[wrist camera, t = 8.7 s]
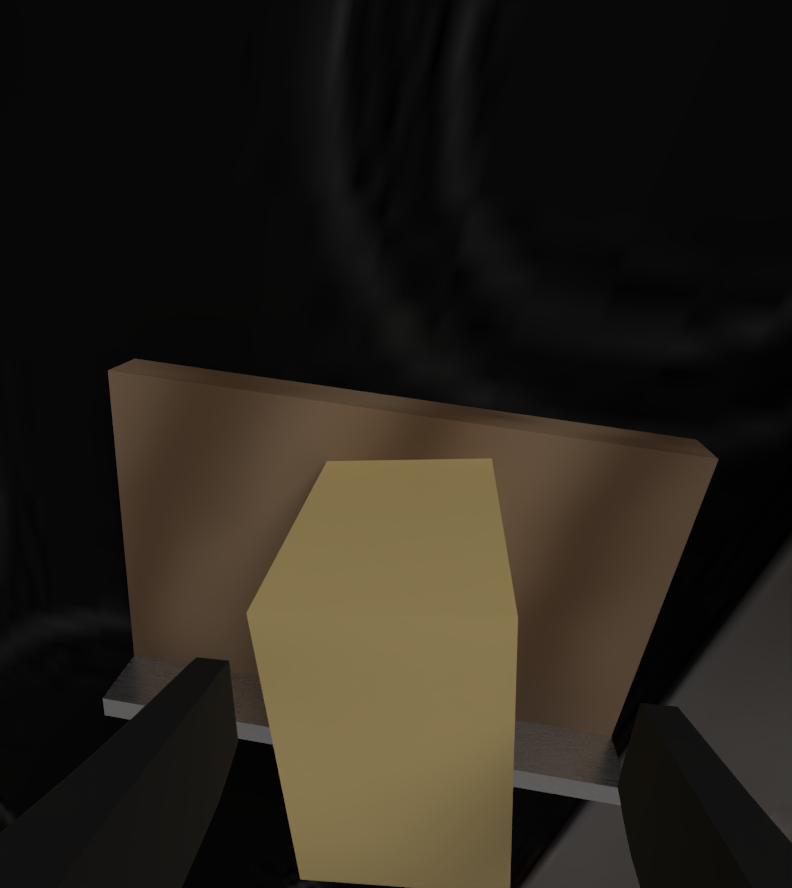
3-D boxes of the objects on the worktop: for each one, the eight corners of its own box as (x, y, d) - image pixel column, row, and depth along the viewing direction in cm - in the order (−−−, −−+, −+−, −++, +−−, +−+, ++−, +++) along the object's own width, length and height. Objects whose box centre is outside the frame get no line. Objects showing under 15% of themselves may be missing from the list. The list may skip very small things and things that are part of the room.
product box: (490, 672, 19) (509, 901, 13) (351, 668, 20) (301, 885, 13) (492, 458, 16) (518, 617, 10) (327, 460, 17) (246, 612, 10)
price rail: (611, 736, 20) (627, 789, 18) (603, 757, 20) (618, 811, 18) (134, 655, 20) (102, 698, 19) (136, 677, 21) (105, 721, 19)
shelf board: (696, 439, 17) (718, 459, 15) (595, 717, 21) (605, 751, 20) (135, 358, 17) (107, 370, 16) (155, 643, 22) (135, 671, 21)
